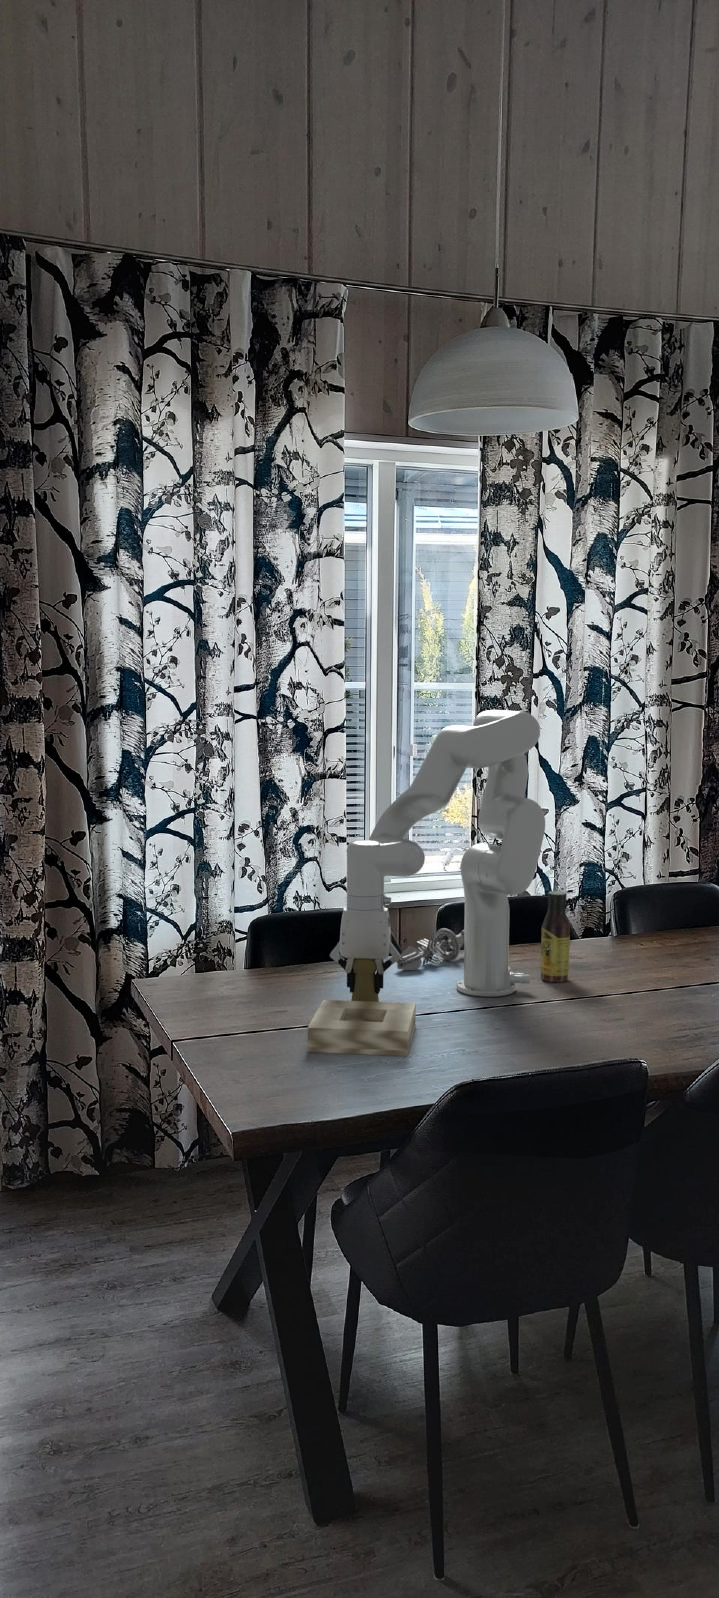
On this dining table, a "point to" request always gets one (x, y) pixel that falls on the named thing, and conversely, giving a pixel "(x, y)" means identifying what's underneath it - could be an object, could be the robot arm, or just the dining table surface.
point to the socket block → (362, 1028)
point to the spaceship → (432, 950)
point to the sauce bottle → (555, 940)
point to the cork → (364, 980)
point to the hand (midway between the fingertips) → (365, 990)
